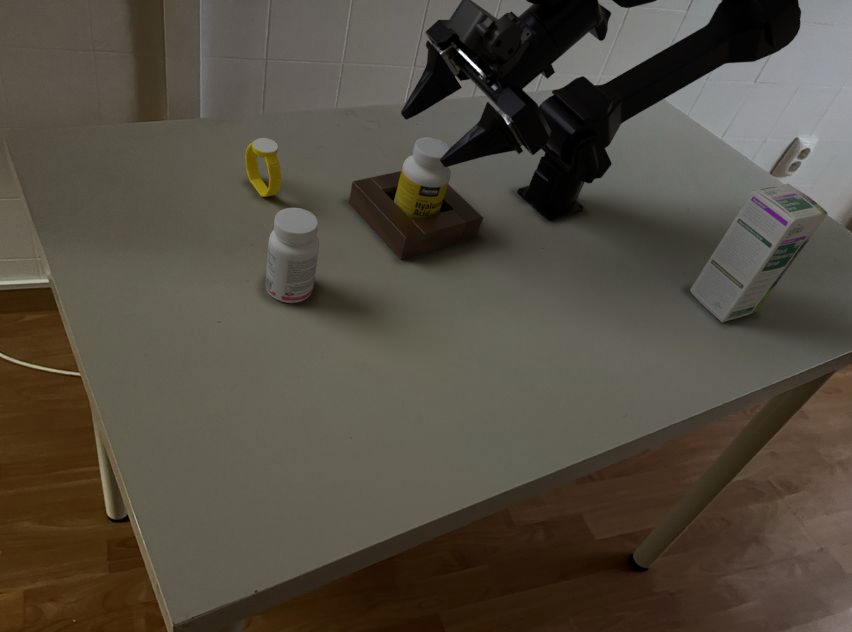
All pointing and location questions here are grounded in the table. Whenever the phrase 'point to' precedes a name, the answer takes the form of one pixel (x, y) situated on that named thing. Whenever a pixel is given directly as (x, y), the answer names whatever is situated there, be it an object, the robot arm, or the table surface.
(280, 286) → the pill bottle
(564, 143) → the robot arm
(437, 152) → the supplement bottle
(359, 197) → the socket block
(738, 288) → the syrup box
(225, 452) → the table surface
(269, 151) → the watch
